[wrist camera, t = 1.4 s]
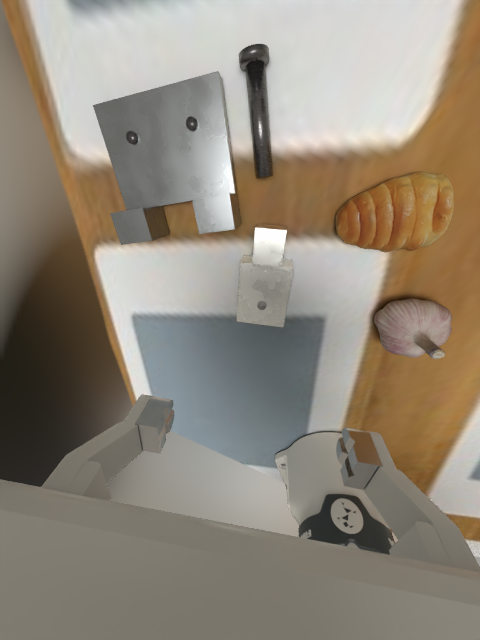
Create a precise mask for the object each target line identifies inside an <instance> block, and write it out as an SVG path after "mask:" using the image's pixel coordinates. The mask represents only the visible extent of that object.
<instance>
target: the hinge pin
mask: <svg viewBox="0 0 480 640" xmlns="http://www.w3.org/2000/svg"><path fill="white" fill-rule="evenodd" d="M268 62H269V48H268V47H267V46H266V45H264V44H255V45H251V46H248V47H246V48H244V49H243V50H242V51H241V52H240V53H239V63H240V68H241V69H242V70H244V71H246V79H247V89H248V99H249V109H250V119H251V130H252V140H253V150H254V160H255V170H256V178H264V177H269V176H273V172H272V158H271V144H270V130H269V116H268V103H267V89H266V75H265V65H267V64H268Z"/></svg>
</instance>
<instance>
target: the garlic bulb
mask: <svg viewBox="0 0 480 640" xmlns="http://www.w3.org/2000/svg"><path fill="white" fill-rule="evenodd" d="M451 321H452V315H451V313H450V311H449V310H448V309H447V308H446V307H444V306H442V305H439V304H437V303H436V302H433V301H430V300H424V301H422V300H419V299H415V298H411V299H406V300H401V301H398V300H396V301H392V302H390V303H388V304H387V305H386V306H385V307H384V308H383V309H382V310H380V311H378V312H377V313H376V315H375V317H374V323H375V325H376V326H377V328H378V330H379V333H380V342H381V344H382V346H383V347H384V348H385V349H386V350H387V351H389V352H391V353H393V354H397V355H404V356H408V357H412V358H415V357H419V356H421V355H422V354H424V353H427V354H428V355H429V356H430V357H432V358H433V359H440V358H442V357H444V356H445V352H444V351H443V350H442V349H440V348H439V347H438V346H440V345H442V344H444V343H445V342H446V340H447V339H448V337H449V336H450V334H451V330H452V327H451Z"/></svg>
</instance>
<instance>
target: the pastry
mask: <svg viewBox="0 0 480 640" xmlns="http://www.w3.org/2000/svg"><path fill="white" fill-rule="evenodd" d="M453 196H454V191H453V187H452V185H451V183H450V182H449V180H448V178H447V176H445V175H443V174H430V173H427V172H415V173H412V174H410V175H407V176H402V177H398V178H393V179H390V180H388V181H386V182H384V183H382V184H379V185H378V186H376V187H374V188H372V189H369V190H367V191H365V192H362V193H360V194H358V195H356V196H354V197H353V198H351V199H350V200H349V201H348V202H347V203H346V204H344V205H343V206H342V207H341V208H340V209H339V211H338V212H337V214H336V221H335V224H336V231H337V235H338V236H339V237H340V238H341V239H342V240H343V241H344V242H345V243H346V244H350V245H356V246H358V247H360V248H364V249H376V250H380V251H383V252H389V251H393V250H399V249H406V250H409V251H412V250H415V249H417V248H419V247H425V246H428V245H430V244H431V243H432V242H433V241H435V240H437V239H438V238H439V236H441V235H443V234H444V232H445V231H446V230H447V227H448V225H449V222H450V219H451V217H452V213H453V209H454V201H453Z"/></svg>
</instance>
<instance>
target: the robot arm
mask: <svg viewBox="0 0 480 640" xmlns="http://www.w3.org/2000/svg"><path fill="white" fill-rule="evenodd" d="M172 407H173V400H170V399H165V398H159V397H154V396H148V395H143V394H142V395H141V396H140V397H139V398H138V400H137V401H136V403H135V405H134V406H133V408H132V409H131V411H130V412H129V414H128V415H127V417H126V418H125V420H124V422H119V423H117V424H116V425H114V426H113V427H111V428H110V429H108V430H106V431H105V432H103V433H102V434H100V435H98V436H96V437H95V438H93V439H92V440H90V441H88V442H87V443H85V444H83V445H82V446H81V447H79V448H77V449H75V450H74V451H72V452H71V453H69V454H67V455H66V456H65V457H64V459H63V460H62V461H61V462H60V464H59V465H58V466H57V468H56V469H55V470H54V471H53V473H52V474H51V475H50V476H49V478H48V479H47V480H46V482H45V483H44V484H43V485H42V487H41V488H40V487H36V486H30V485H25V484H20V483H15V482H10V481H5V480H0V640H480V567H479V565H478V563H477V561H476V559H475V557H474V556H473V554H472V552H471V550H470V548H469V546H468V544H467V543H466V541H465V539H464V537H463V535H462V533H461V532H460V530H459V528H458V527H457V526H456V525H455V524H454V523H453V522H452V521H451V520H450V519H449V518H448V517H447V516H446V515H445V514H444V513H443V512H442V511H441V510H440V509H439V508H438V507H437V506H436V505H435V504H434V503H433V502H432V501H431V500H430V499H429V498H428V497H427V496H426V495H425V494H424V493H423V492H422V491H421V490H420V489H419V488H418V487H417V486H416V485H415V484H414V483H413V482H412V481H411V480H410V479H409V478H408V477H407V476H406V475H405V474H404V473H403V472H402V471H401V470H398V469H396V467H395V465H394V463H393V460H392V458H391V456H390V454H389V451H388V449H387V447H386V445H385V442H384V440H383V438H382V436H381V435H380V433H375V432H369V431H364V430H357V429H351V428H344V429H343V431H342V433H335V432H322V433H315V434H311V435H308V436H305V437H303V438H301V439H299V440H297V441H296V442H295V443H294V444H293V445H292V446H291V447H289V448H288V449H286V450H284V451H281V452H279V453H277V454H276V455H275V462H276V465H277V467H278V469H279V471H280V474H281V476H282V478H283V481H284V483H285V485H286V489H287V504H288V509H290V510H291V513H292V515H293V517H294V518H295V519H296V521H297V522H298V524H299V537H295V536H290V535H284V534H279V533H274V532H269V531H264V530H259V529H253V528H248V527H243V526H238V525H233V524H227V523H222V522H217V521H212V520H207V519H202V518H196V517H191V516H185V515H181V514H176V513H171V512H165V511H160V510H155V509H149V508H144V507H139V506H134V505H129V504H124V503H118V502H113V501H110V499H111V495H110V491H109V488H108V485H107V483H108V482H109V481H110V480H111V479H112V478H113V477H115V476H116V475H117V474H118V473H119V472H120V471H121V470H122V469H124V468H125V467H126V466H127V465H128V464H129V463H130V462H131V461H133V460H134V459H135V458H136V457H137V456H138V455H139V454H141V453H142V451H148V452H155V453H161V451H162V448H163V446H164V444H165V441H166V434H167V433H168V432H170V430H171V427H172V424H173V420H174V411H173V410H172ZM389 529H391V530H392V532H393V533H394V534H395V536H396V537H397V539H398V541H397V542H396V543H395V542H394V539H393V536H392V533H391V531H390V530H389Z"/></svg>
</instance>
